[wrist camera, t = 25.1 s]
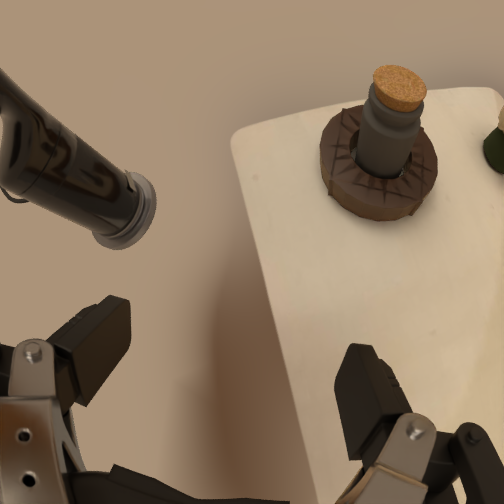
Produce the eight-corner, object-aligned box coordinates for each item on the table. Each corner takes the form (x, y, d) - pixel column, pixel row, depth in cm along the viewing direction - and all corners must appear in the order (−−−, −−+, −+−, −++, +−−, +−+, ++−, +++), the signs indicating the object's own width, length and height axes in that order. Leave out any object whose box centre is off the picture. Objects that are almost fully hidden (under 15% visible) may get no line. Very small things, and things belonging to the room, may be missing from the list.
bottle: (360, 142, 33) (372, 53, 19) (402, 158, 31) (434, 75, 17) (348, 178, 32) (359, 91, 18) (393, 196, 31) (430, 117, 16)
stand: (310, 205, 33) (308, 191, 29) (330, 115, 35) (330, 96, 31) (423, 233, 29) (435, 222, 25) (427, 138, 31) (435, 121, 27)
